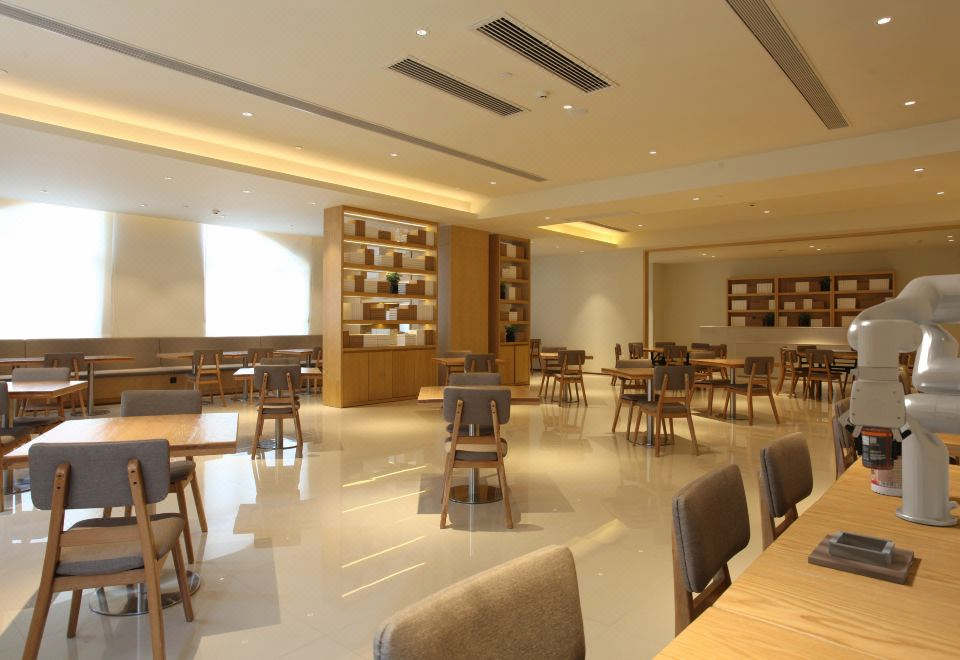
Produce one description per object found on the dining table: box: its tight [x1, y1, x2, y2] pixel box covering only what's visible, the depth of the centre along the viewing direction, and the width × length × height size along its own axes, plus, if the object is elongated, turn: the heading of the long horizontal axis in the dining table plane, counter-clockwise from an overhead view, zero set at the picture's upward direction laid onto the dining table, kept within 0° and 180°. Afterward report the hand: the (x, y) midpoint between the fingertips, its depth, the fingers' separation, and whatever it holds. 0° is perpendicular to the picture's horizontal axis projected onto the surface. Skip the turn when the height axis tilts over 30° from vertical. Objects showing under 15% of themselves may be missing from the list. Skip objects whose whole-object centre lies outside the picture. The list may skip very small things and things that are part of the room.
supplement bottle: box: [861, 426, 894, 470], centre depth 131 cm, size 6×6×11 cm
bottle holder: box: [807, 530, 915, 585], centre depth 123 cm, size 18×16×4 cm
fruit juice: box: [870, 428, 902, 497], centre depth 174 cm, size 9×9×28 cm
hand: (877, 456), depth 131 cm, fingers closed on supplement bottle, 5 cm apart
